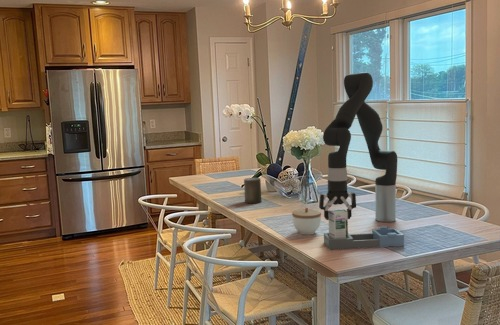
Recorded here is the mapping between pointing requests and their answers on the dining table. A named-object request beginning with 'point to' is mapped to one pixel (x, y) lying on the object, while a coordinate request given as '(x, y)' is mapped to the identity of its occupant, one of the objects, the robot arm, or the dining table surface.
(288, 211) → the dining table surface
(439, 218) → the dining table surface
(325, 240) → the frame
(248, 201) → the pillar candle
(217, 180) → the dining table surface
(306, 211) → the lidded bowl
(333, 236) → the syrup box
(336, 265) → the dining table surface
